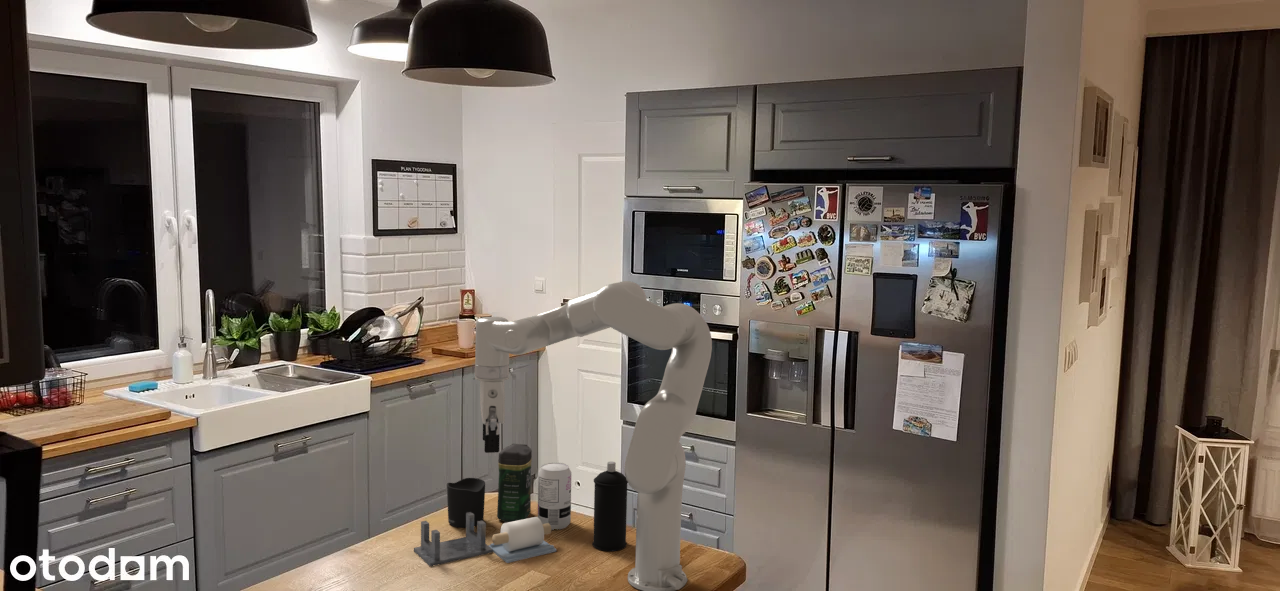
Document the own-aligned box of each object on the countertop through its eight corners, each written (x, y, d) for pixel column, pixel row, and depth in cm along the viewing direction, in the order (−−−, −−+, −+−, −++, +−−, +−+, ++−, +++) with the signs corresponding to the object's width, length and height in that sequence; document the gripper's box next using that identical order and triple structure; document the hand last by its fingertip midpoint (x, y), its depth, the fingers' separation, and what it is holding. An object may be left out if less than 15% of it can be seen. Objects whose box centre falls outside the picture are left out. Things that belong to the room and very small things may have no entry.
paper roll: (542, 536, 206) (542, 510, 206) (555, 545, 201) (555, 519, 200) (488, 548, 198) (488, 521, 198) (500, 558, 193) (500, 530, 192)
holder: (474, 538, 206) (474, 509, 205) (492, 552, 198) (492, 523, 197) (413, 551, 197) (413, 521, 197) (430, 566, 189) (430, 535, 188)
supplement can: (533, 521, 218) (534, 463, 216) (564, 517, 221) (565, 460, 220) (543, 532, 210) (544, 473, 209) (575, 528, 214) (576, 469, 212)
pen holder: (448, 515, 220) (448, 477, 219) (486, 515, 221) (486, 477, 220) (444, 529, 211) (444, 489, 210) (483, 528, 212) (484, 489, 211)
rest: (536, 537, 207) (536, 532, 207) (556, 551, 199) (556, 546, 199) (487, 548, 200) (488, 542, 200) (506, 563, 192) (507, 557, 192)
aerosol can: (631, 549, 202) (634, 466, 200) (598, 553, 199) (600, 469, 197) (619, 536, 209) (621, 456, 207) (587, 540, 206) (589, 459, 204)
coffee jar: (524, 524, 215) (525, 452, 213) (493, 522, 216) (494, 450, 215) (534, 511, 225) (535, 442, 223) (505, 509, 226) (505, 440, 224)
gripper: (511, 379, 186) (510, 456, 188) (506, 364, 203) (504, 435, 205) (476, 380, 185) (475, 457, 186) (473, 364, 201) (472, 436, 203)
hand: (490, 446), depth 196 cm, fingers open, 9 cm apart
